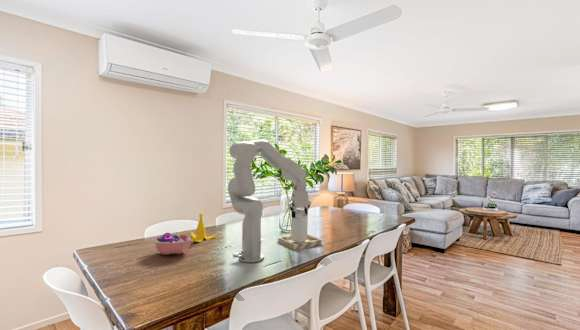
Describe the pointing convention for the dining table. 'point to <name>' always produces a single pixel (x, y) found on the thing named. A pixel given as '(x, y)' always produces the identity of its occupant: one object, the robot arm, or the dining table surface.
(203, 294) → the dining table surface
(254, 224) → the robot arm
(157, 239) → the cell model
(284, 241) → the serving tray
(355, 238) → the dining table surface
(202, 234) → the banana peel
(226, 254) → the dining table surface
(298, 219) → the milk carton
